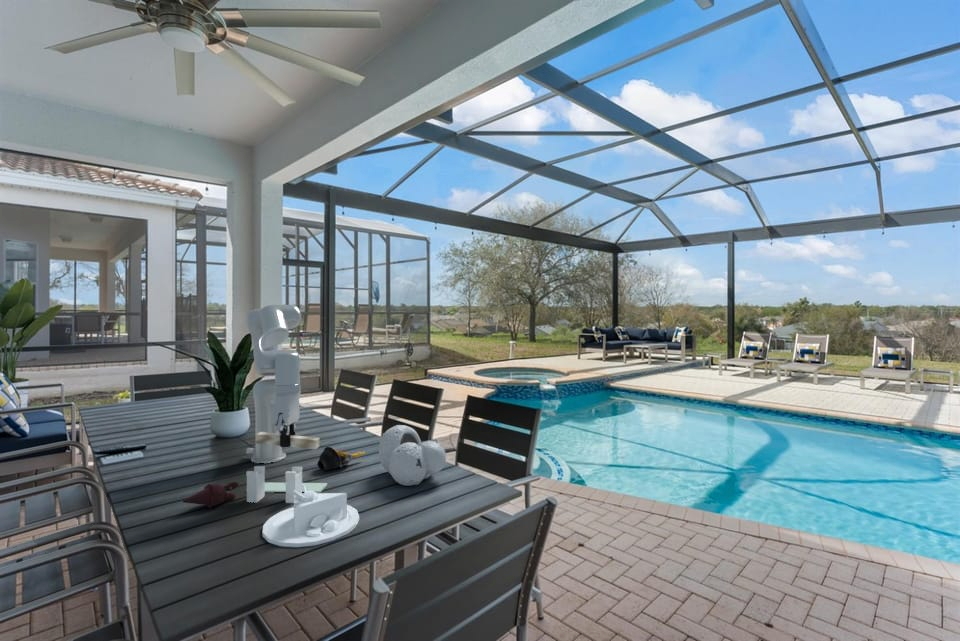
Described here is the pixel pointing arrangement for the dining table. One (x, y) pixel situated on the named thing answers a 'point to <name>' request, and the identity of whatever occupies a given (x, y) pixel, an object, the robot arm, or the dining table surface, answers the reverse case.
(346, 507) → the dish
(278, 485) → the mat
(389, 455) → the grey lumpy clump
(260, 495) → the post
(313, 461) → the dining table surface
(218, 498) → the icecream
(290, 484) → the post
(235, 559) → the dining table surface
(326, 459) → the fried shrimp in bowl
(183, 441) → the dining table surface
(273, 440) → the rail
